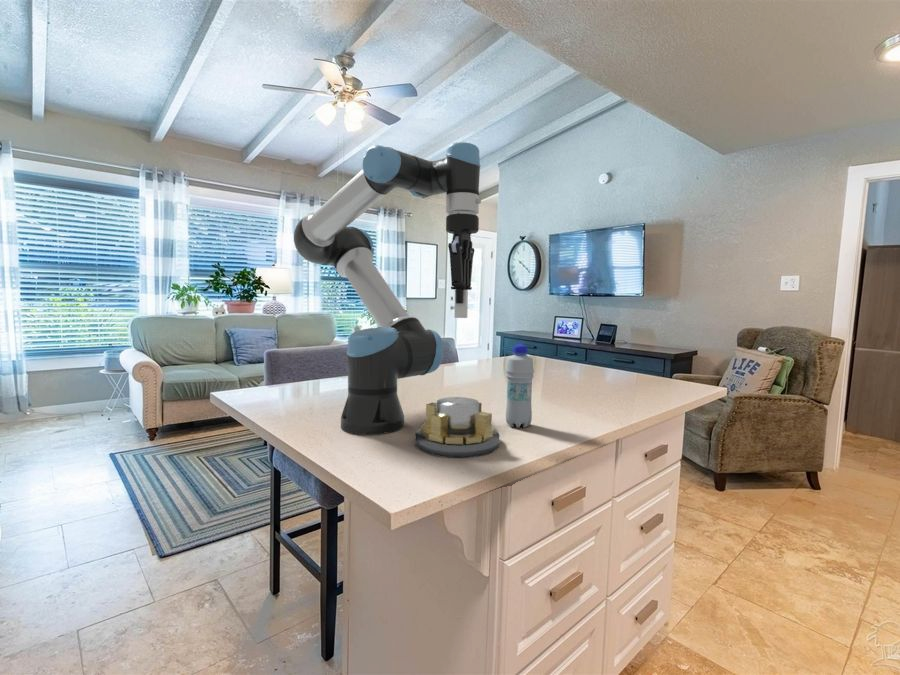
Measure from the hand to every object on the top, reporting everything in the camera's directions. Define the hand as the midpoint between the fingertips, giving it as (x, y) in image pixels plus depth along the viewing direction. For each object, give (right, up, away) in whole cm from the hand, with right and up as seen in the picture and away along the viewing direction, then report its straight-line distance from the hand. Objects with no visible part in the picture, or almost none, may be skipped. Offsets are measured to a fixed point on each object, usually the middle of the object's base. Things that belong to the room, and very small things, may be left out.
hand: (460, 317), depth 106 cm
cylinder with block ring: (-1, -25, -9) cm, 27 cm away
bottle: (+14, -26, +5) cm, 30 cm away
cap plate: (-1, -27, -9) cm, 29 cm away
